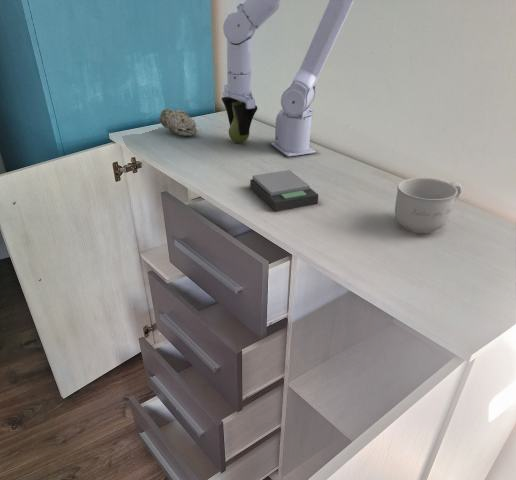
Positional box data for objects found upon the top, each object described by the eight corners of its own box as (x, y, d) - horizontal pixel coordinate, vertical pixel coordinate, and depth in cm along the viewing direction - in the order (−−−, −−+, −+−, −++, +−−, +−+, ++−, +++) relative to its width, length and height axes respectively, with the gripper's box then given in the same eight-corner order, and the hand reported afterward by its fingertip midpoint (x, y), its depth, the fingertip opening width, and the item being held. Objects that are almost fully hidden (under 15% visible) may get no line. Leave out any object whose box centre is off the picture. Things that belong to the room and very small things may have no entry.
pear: (250, 146, 129) (251, 104, 123) (229, 146, 128) (229, 104, 122) (247, 138, 133) (248, 97, 127) (227, 138, 133) (227, 97, 126)
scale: (250, 188, 110) (250, 175, 108) (290, 181, 113) (291, 169, 111) (274, 211, 101) (275, 198, 100) (317, 203, 105) (319, 190, 103)
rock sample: (178, 127, 127) (171, 95, 128) (160, 142, 132) (154, 112, 133) (209, 137, 134) (202, 107, 135) (191, 151, 139) (184, 122, 140)
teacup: (406, 242, 93) (416, 201, 88) (380, 216, 101) (388, 177, 96) (471, 234, 97) (485, 194, 91) (440, 209, 104) (451, 171, 99)
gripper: (212, 66, 124) (214, 123, 133) (235, 80, 114) (235, 142, 123) (239, 64, 126) (238, 121, 135) (263, 78, 116) (261, 138, 125)
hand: (239, 130), depth 129 cm, fingers closed on pear, 5 cm apart
